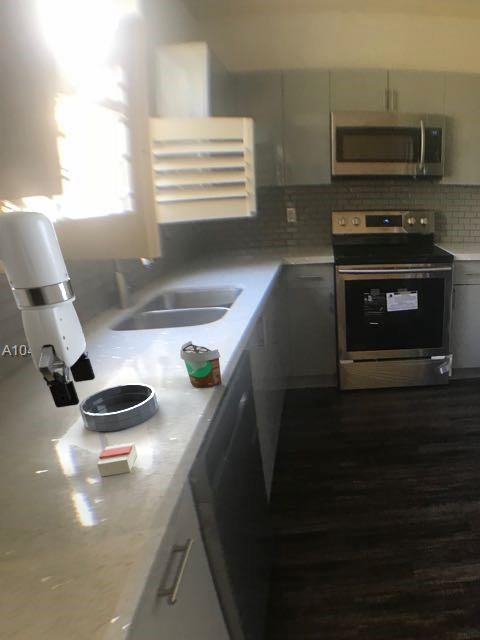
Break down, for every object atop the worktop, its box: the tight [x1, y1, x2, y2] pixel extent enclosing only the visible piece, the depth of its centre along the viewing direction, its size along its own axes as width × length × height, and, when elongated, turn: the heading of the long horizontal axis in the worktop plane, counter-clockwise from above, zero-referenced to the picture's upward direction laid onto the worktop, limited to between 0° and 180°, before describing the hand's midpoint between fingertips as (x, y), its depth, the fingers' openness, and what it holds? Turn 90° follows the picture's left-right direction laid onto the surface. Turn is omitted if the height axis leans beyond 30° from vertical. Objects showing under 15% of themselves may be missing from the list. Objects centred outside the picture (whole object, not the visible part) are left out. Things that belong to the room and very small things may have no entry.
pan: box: [79, 383, 159, 432], centre depth 105 cm, size 15×15×4 cm
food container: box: [179, 340, 223, 389], centre depth 118 cm, size 12×6×10 cm, turn 55°
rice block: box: [97, 442, 138, 478], centre depth 87 cm, size 5×6×3 cm
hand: (77, 392), depth 78 cm, fingers open, 9 cm apart
